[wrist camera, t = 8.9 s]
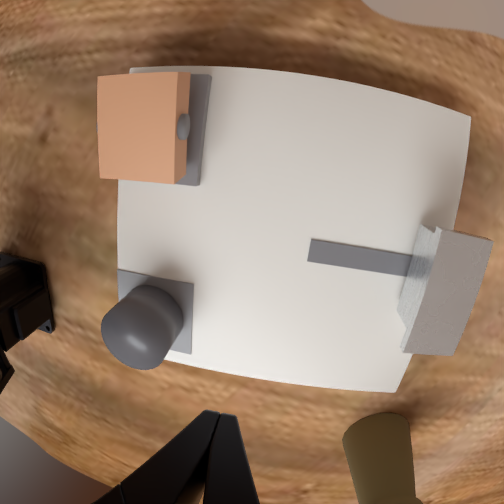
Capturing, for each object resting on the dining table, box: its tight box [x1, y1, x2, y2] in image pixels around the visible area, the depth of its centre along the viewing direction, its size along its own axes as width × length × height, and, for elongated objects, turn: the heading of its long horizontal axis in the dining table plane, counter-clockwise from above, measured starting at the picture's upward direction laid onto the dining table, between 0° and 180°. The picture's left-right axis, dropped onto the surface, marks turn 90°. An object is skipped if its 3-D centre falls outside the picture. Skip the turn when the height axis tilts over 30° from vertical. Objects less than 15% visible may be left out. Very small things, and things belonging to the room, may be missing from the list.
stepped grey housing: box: [397, 224, 493, 356], centre depth 14 cm, size 3×6×4 cm, turn 173°
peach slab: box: [97, 72, 191, 184], centre depth 14 cm, size 4×5×2 cm
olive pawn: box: [342, 413, 423, 504], centre depth 18 cm, size 6×6×11 cm
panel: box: [117, 66, 471, 393], centre depth 18 cm, size 19×18×3 cm
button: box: [101, 285, 183, 370], centre depth 18 cm, size 4×4×3 cm
